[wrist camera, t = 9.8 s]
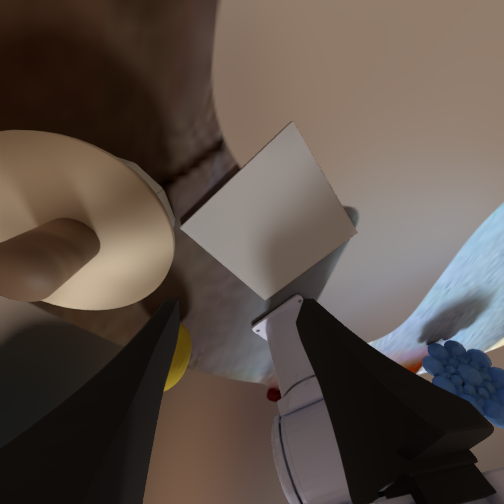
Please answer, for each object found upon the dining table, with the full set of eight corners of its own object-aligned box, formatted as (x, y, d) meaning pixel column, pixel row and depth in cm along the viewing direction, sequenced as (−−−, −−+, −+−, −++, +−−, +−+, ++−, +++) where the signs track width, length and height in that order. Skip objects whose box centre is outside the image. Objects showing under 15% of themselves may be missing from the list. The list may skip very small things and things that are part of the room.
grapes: (397, 365, 38) (465, 448, 27) (404, 343, 34) (485, 429, 24) (452, 349, 38) (541, 426, 28) (465, 327, 35) (571, 404, 24)
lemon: (146, 304, 22) (112, 376, 15) (196, 306, 23) (187, 374, 16) (148, 337, 24) (119, 412, 17) (193, 337, 26) (183, 408, 19)
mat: (354, 230, 21) (357, 232, 21) (264, 297, 24) (265, 300, 24) (290, 121, 16) (292, 120, 15) (181, 225, 18) (180, 227, 18)
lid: (209, 237, 14) (205, 273, 10) (113, 324, 17) (78, 381, 13) (21, 69, 9) (-147, 3, 5) (-79, 233, 12) (-246, 281, 7)
